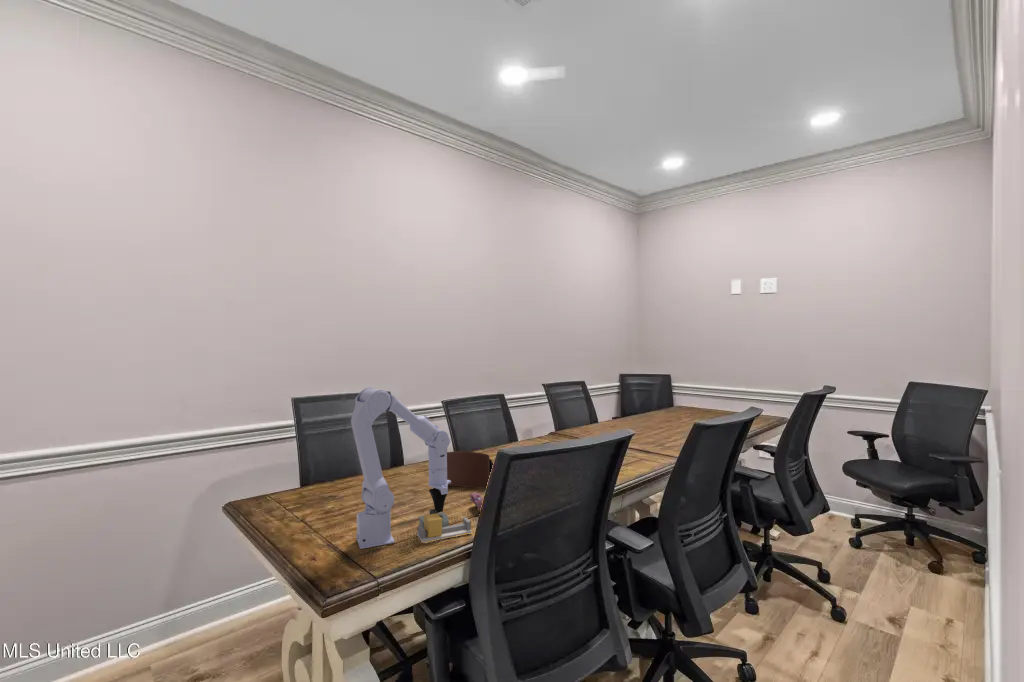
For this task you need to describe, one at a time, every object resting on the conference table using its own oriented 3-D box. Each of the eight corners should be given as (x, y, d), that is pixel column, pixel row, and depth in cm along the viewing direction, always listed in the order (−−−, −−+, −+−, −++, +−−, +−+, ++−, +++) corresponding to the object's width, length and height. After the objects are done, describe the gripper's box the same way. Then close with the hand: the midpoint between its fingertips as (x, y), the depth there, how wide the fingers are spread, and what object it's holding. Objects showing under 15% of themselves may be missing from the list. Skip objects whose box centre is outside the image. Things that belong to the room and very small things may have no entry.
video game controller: (474, 509, 165) (465, 493, 164) (485, 502, 167) (476, 485, 165) (482, 519, 156) (473, 502, 155) (494, 511, 157) (485, 494, 156)
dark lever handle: (432, 516, 145) (432, 511, 145) (428, 515, 146) (428, 510, 146) (443, 511, 149) (443, 506, 149) (440, 510, 150) (440, 505, 150)
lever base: (423, 531, 142) (423, 520, 142) (419, 525, 147) (419, 515, 147) (448, 526, 146) (448, 516, 146) (443, 521, 150) (443, 511, 150)
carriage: (428, 537, 135) (428, 521, 135) (424, 531, 140) (424, 515, 140) (442, 535, 137) (442, 518, 137) (437, 529, 141) (437, 513, 141)
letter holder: (489, 488, 184) (489, 452, 184) (441, 486, 188) (441, 450, 188) (495, 481, 194) (495, 447, 194) (449, 479, 198) (449, 445, 198)
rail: (422, 544, 134) (422, 532, 134) (417, 536, 139) (417, 524, 139) (471, 534, 140) (471, 522, 140) (465, 527, 146) (465, 516, 146)
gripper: (457, 471, 144) (458, 516, 143) (443, 462, 157) (444, 503, 156) (434, 474, 141) (435, 520, 140) (422, 464, 154) (423, 506, 153)
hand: (438, 511), depth 148 cm, fingers closed, pressing on dark lever handle
